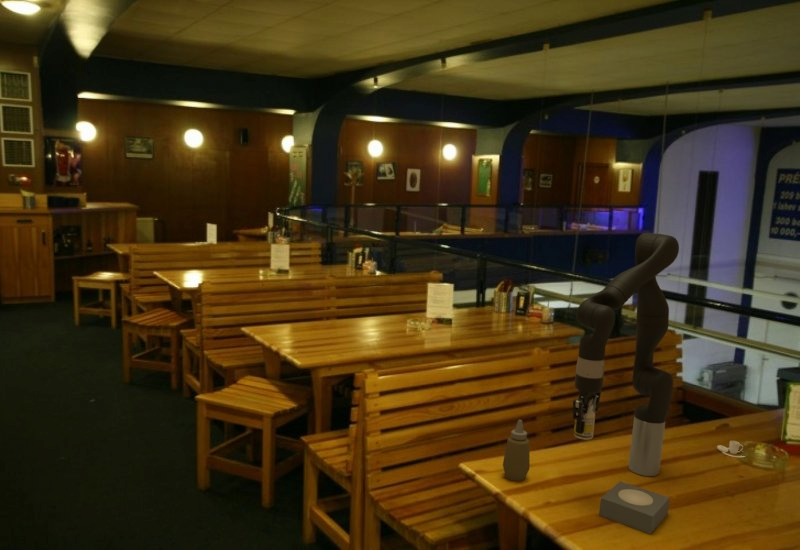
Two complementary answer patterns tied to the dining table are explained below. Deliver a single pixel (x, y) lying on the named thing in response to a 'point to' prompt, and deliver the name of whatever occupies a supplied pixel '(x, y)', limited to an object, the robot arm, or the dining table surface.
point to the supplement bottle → (587, 426)
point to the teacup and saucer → (731, 448)
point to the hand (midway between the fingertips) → (584, 429)
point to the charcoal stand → (634, 507)
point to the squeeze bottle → (517, 454)
